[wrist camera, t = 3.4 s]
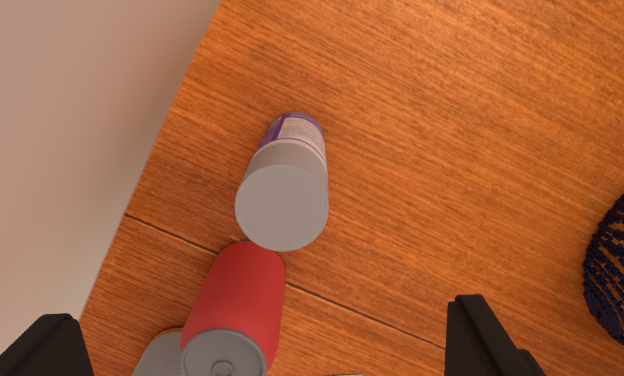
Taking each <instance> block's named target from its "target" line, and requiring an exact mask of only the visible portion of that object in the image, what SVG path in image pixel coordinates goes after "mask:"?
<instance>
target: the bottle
mask: <svg viewBox="0 0 624 376" xmlns="http://www.w3.org/2000/svg"><path fill="white" fill-rule="evenodd" d="M182 332H183V328H172V329H168V330H165V331H162V332H160V333H159V334H158V335H156V336H155V337H154V338H153V339H152V340H151V342H150V343H149V345H148V347H147V348H146V350H145V352H144V353H143V355H142V357H141V359H140V361H139V363H138V364H137V366H136V368H135V370H134V372H133V373H132V375H131V376H182V374H181V371H180V366H179V359H180V355H181V348H180V344H181V337H182Z"/></svg>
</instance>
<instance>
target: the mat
mask: <svg viewBox="0 0 624 376" xmlns="http://www.w3.org/2000/svg"><path fill="white" fill-rule="evenodd" d="M337 376H364V374H357V375H337Z"/></svg>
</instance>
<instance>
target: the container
mask: <svg viewBox="0 0 624 376" xmlns="http://www.w3.org/2000/svg"><path fill="white" fill-rule="evenodd" d="M234 209H235V216H236V219H237V222H238V224H239V226H240V228H241V230H242V231H243V233H244V234H245V235H246V236H247V237H248V238H249V239H250V240H251V241H253V242H254V243H255V244H257V245H259V246H261V247H263V248H266V249H269V250H273V251H293V250H297V249H300V248H302V247H304V246H306V245H308V244H309V243H311V242H312V241H313V240H315V239H316V238H317V237H318V236H319V234H320V233H321V232H322V230H323V228H324V226H325V224H326V221H327V218H328V210H329V208H328V172H327V163H326V154H325V145H324V136H323V132H322V130H321V127H320V126H319V124H318V123H317V122H316V121H315V120H314V119H313V118H312V117H310V116H309V115H307V114H304V113H301V112H289V113H285V114H283V115H281V116H279V117H278V118H276V119H275V120H274V121H273V122H272V124H271V125H270V127H269V128H268V130H267V132H266V134H265V136H264V137H263V139H262V141H261V143H260V145H259V146H258V148H257V150H256V152H255V154H254V155H253V157H252V159H251V161H250V164H249V166H248V168H247V171H246V173H245V175H244V177H243V180H242V182H241V184H240V187H239V189H238V191H237V194H236V197H235V204H234Z"/></svg>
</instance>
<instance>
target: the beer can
mask: <svg viewBox="0 0 624 376" xmlns="http://www.w3.org/2000/svg"><path fill="white" fill-rule="evenodd" d="M285 283H286V270H285V266H284V264H283V261H282V259H281V257H280V256H279V255H278V254H277V253H276V252H275V251H273V250H269V249H266V248H263V247H261V246H259V245H257V244H255V243H254V242H253V241H239V242H236V243H233V244H231V245H228V246H227V247H226V248H224V249H223V250H222V251H220V253H219V254H218V256H217V257H216V259H215V260H214V262H213V265H212V267H211V269H210V271H209V273H208V275H207V277H206V280H205V282H204V284H203V286H202V288H201V290H200V293H199V295H198V297H197V299H196V301H195V303H194V305H193V308H192V310H191V312H190V314H189V316H188V318H187V321H186V323H185V325H184V328H183V332H182V337H181V344H180V348H181V355H180V359H179V366H180V371H181V374H182V376H265V375H266V373H267V371H268V370H269V369H270V367H271V365H272V363H273V361H274V358H275V355H276V352H277V348H278V341H279V333H280V324H281V316H282V308H283V299H284V291H285Z"/></svg>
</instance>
